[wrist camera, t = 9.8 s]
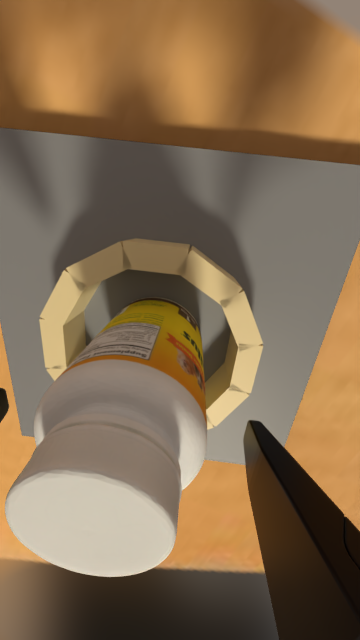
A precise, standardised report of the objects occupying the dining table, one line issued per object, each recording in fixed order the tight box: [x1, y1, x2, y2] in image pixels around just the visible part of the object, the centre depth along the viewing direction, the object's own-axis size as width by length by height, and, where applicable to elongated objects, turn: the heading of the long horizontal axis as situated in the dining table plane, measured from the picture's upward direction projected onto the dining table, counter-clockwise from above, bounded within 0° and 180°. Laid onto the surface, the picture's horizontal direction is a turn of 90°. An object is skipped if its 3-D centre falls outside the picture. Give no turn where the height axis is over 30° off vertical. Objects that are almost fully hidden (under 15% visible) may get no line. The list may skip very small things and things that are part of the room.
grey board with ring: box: [0, 128, 360, 465], centre depth 14 cm, size 20×20×4 cm
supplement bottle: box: [5, 297, 207, 577], centre depth 10 cm, size 6×6×10 cm
